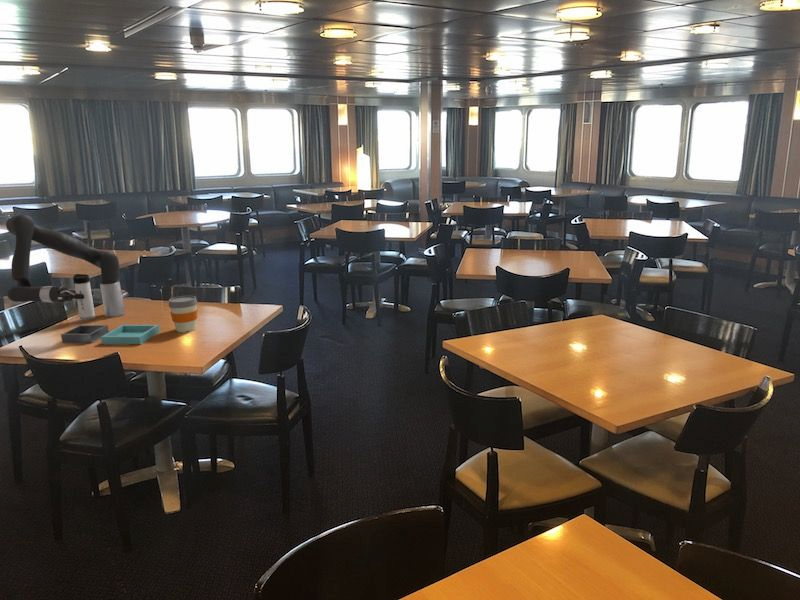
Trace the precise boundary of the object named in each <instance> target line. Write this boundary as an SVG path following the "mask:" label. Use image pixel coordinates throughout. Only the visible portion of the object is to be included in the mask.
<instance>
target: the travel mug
mask: <svg viewBox="0 0 800 600" xmlns="http://www.w3.org/2000/svg"><path fill="white" fill-rule="evenodd" d="M72 278H73V285H74V289H75V292H76V294H84V297H85V298H84V299H76V302H77V303H76V304H77V310H78V315H79V320H81V321H84V320H85V321H87V320H92V319H94V318H96V314H95V307H94V301H93V300H94V299H93V295H92V293H91V290H92V288H91V287H92V286H91V282H90V276H89V275H88V274H80V273H77V274H74V275H73V276H72Z"/></svg>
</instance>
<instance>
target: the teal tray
mask: <svg viewBox="0 0 800 600" xmlns="http://www.w3.org/2000/svg"><path fill="white" fill-rule="evenodd" d="M157 333H158V334H159V333H161V331H160V324H122V325H120V326H118V327H116V328H114V329H113V330H111V331H109V333H107V334H105V335H103V336H102V337H101V338H100V340H101V341H100V342H101V345H102V344H104V346H105V345H107V344H108V345H109V346H110V344H112V346H113V345H116V346H118V345H119V346H120V345H123V346H124V345H126V344H127V345H126V346H128V344H141V345H142V344H144V343H145V341H146V340H147V341H149V340H150V339H152V338H154V337H155V336H157V335H158V334H157ZM154 335H155V336H154ZM151 337H152V338H151ZM148 339H149V340H148ZM147 341H146V342H147ZM143 342H144V343H143Z"/></svg>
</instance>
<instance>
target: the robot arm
mask: <svg viewBox="0 0 800 600" xmlns="http://www.w3.org/2000/svg"><path fill="white" fill-rule="evenodd" d="M5 227H6V230H7V231H8V232H9V233H10V234H11V235H13V236H15V248H14V252H13V255H12V259H11V268H10V270H11V275H10V276H11V279H12V281H14V282H16V285H17V286H12V287H10V288H9V289H8V290H7V293H6V295H7V298H8V300H10V301H12V302H15V303H16V302H17V303H26V302H36V303H51V304H53V303H57V304H58V303H59V304H63V303H66V302H67V301H71V302H72V301H73V300H74V301H75V300H77V299H84V298H85V297H84V294H76V292H75V288H74V289H73V288H70V289H68V288H67V287H66V286H64V285H47V286H33V285H32V281H31V278H30V269H31V268H30V260H31V259H30V258H31V248H32V241H33V242H36V243H38V244H40V245H43V246H45V247H47V248H49V249H52V250H53V251H56V252H58V253H61V254H63V255H67V256H69V257H72V258H77V259H81V260H83V261H85V262H87V263H89V264H92V265H94V266H95V267H97V268H98V269H100V272H101V273H100V275H101V276H100V277H99V280H98V281H99V287H100V292H101V298H102V304H103V310H104V311H103V312H104V316H105V317H106V318H113V317H120V316H124V314H125V313H126V312H125V304H124V297H123V294H122V289H121V282H120V276H121V271H120V262H119V258H118V256H117V255H116V253H114V252H112V251H107V250H102V249H98V248H95V247H92V246H89V245H87V244H86V243H84V242H83V241H81V240H79V239H78V238H76V237H74V236H72V235H69V234H67V233H65V232H62V231H58V230H54V229H50V228H44V227H42V226H39V225H36V224H35V222H34V220H33V218H32V217H31V216H29V215H28V214H18V215H14V216H10V217H9V218H8V219H7V220H6V222H5ZM91 293H92V296H93V295H94V290H93V289H91Z"/></svg>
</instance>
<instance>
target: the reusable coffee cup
mask: <svg viewBox="0 0 800 600" xmlns="http://www.w3.org/2000/svg"><path fill="white" fill-rule="evenodd" d="M197 304H198V301H197V296H195V295H181V296H175V297H172V298H169V299H168V307H169V309H170V315H171V320H172V322H173V324H174V327H175V332H177V331H178V332H177V333H181V332H183V333H188V332H187V331H191V332H193V331H192V330H194V329H195V330H197V319H198V308H197ZM195 330H194V331H195Z"/></svg>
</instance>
